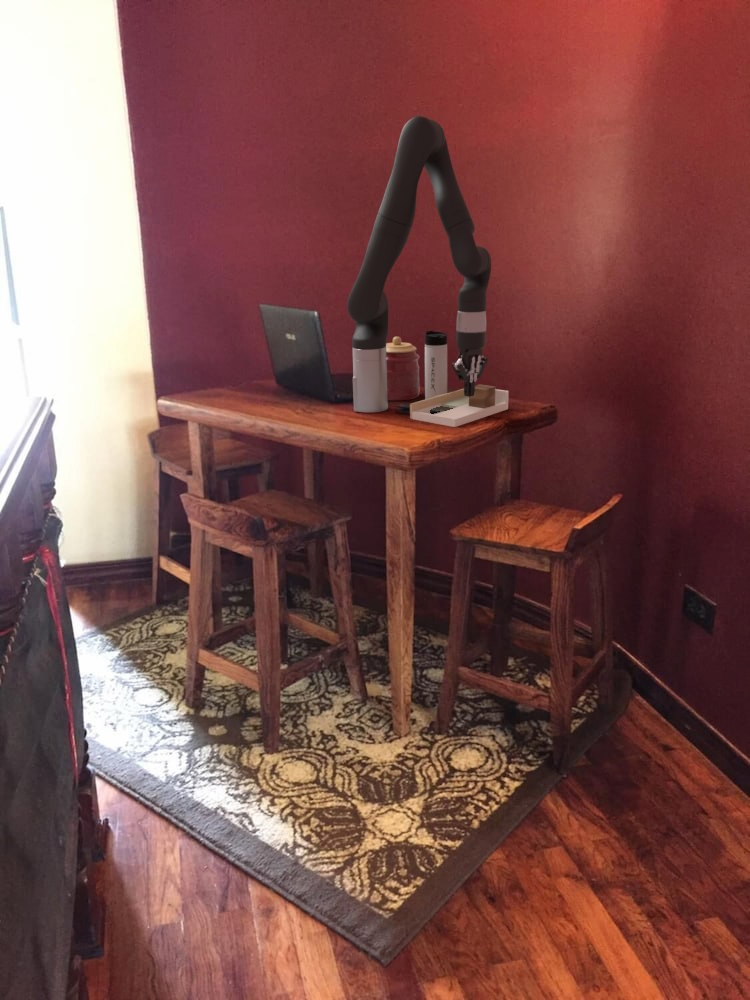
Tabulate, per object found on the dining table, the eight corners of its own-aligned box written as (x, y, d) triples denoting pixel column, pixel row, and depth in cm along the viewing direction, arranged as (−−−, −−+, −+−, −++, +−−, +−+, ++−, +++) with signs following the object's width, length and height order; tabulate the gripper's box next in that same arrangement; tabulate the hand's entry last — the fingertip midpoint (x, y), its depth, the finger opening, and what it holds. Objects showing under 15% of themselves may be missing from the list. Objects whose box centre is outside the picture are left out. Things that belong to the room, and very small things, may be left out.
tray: (454, 427, 196) (454, 407, 194) (410, 418, 205) (409, 400, 203) (508, 409, 212) (508, 391, 210) (464, 402, 221) (464, 384, 220)
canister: (378, 392, 238) (376, 333, 232) (420, 391, 236) (420, 333, 230) (374, 401, 226) (372, 340, 220) (418, 401, 224) (418, 339, 218)
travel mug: (437, 399, 226) (437, 329, 219) (451, 403, 221) (451, 331, 214) (420, 402, 223) (419, 331, 216) (433, 406, 218) (433, 334, 211)
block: (484, 408, 205) (484, 389, 203) (468, 406, 208) (468, 387, 206) (494, 405, 208) (495, 386, 207) (479, 402, 212) (480, 384, 210)
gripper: (467, 333, 191) (465, 402, 197) (498, 327, 200) (495, 393, 206) (443, 330, 196) (442, 398, 202) (474, 325, 205) (472, 389, 211)
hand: (469, 395), depth 204 cm, fingers closed
